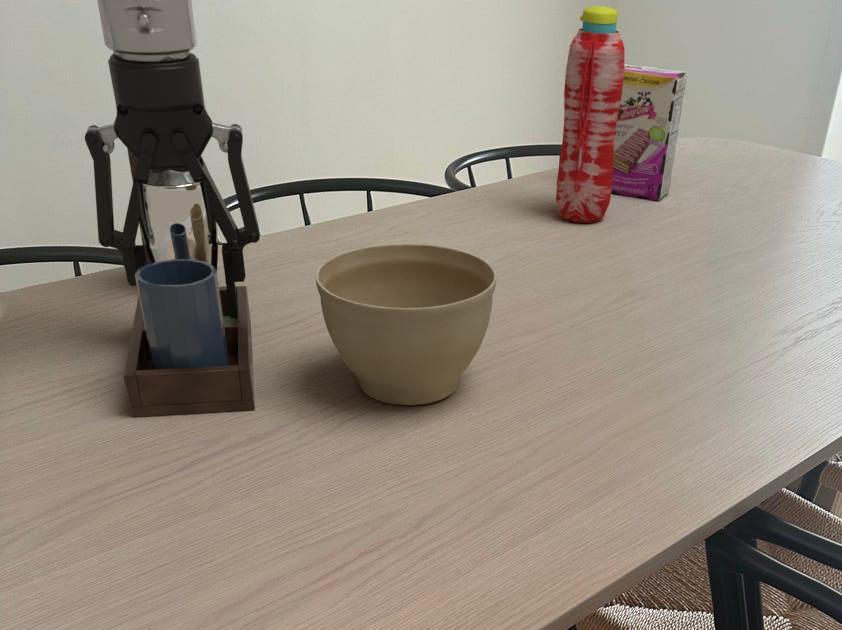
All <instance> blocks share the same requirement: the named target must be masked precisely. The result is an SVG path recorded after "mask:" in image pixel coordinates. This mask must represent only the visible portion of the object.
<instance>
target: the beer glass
mask: <svg viewBox="0 0 842 630" xmlns="http://www.w3.org/2000/svg"><path fill="white" fill-rule="evenodd" d="M136 182H137V188H138V199H139V209H140V225H141V230H142V235H143V239H144V243H145V246H146V250H147V253H148V256H149V259H150V262H151V263H154V262H158V261H163V260H172V259H192V260H198V261H203V262H206V263H208V264H211V265H213V266H214V268H215V269H216V271H217V275H218V273H219V230H218V224H217V222H216V220H215V218H214V217H213V215H212V210H211V206H210V201H209V197H208V192H207V188H206V183H205V180H200V181H198V182H194V180H193V179H192V177H191V175H190V173H189V171H188V172H177V171H173V170H167V171H164V172H152V170H151V171H150V175H149V180H148V184H146V183H143V182H141V181H136ZM140 225H139V226H140ZM223 321H224V319H223ZM224 323H225V322H224Z"/></svg>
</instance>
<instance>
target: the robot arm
mask: <svg viewBox="0 0 842 630" xmlns="http://www.w3.org/2000/svg"><path fill="white" fill-rule="evenodd" d="M96 1H97V7H98V12H99V18H100V24H101V29H102V35H103V41H104V46H105V47H106V48H108V50H110V51H112V54H110V56H109V58H108V60H107V63H108V68H109V74H110V80H111V87H112V91H113V97H114V101H115V109H116V116H115V118H114V122H113V123H111V124H107V125H103V126H98V125H94V124H92V125H89V127H88V128H87V129H86V132H85V135H84V141H85V144H86V147H87V149H88V151H89V154H90V156H91V159H92V162H93V176H94V192H95V208H96V209H95V210H96V223H97V237H98V239H97V240H98V243H99V245H101V246H102V247H103V248H109V247H110V248H113V249H116V250H117V251H119V252H120V253H121V256H122V261H123V265H124V271H125V275H126V281H127V283H128V285H129V286H130V287H135V286H136V287H137V284H136V278H135V273H136V272H137V270H138V269H139V268H141V267H143V266H145V265H147V264H148V263H147V258H146V252H145V246H144V245H143V244H136V239H137V235H138V230H139V227H140V225H139V221H140V209H139V199H138V188H137V182H136V181H141V182H143V183H146V184H148V180H149V175H150V171H151V170H152V172H164V171H167V170H173V171H177V172H188V171H189V173H190V175H191V177H192V179H193V180H194V182H198V181H200V180H205V183H206V188H207V192H208V197H209V201H210V206H211V210H212V215H213V217H214V218H215V220H216V222H217V227H218V228H219V230H220V232H221V233H222V235H223V237H224V239H225V241H226V242H221V257H222V264H223V272H224V281H225V287H226V288H227V296H228V303H229V311H230V319H233V318H237V296H236V288H235V286H236V283H245V279H246V265H245V259H244V248H245V247H246V246H247V245H250V244H256V243H258V242H259V241H260V238H261V236H260V234H261V233H260V226H259V221H258V217H257V213H256V210H255V209H256V208H255V206H254V202H253V197H252V194H251V193H252V192H251V188H250V184H249V180H248V175H247V173H246V168H245V164H244V160H243V155H242V151H243V142H244V136H243V134H244V133H243V129H242V127H241V125H239V124H237V123H232V124H231V125H230V126H229V125H225V124H221V123H217V122H213V120H212V118H211V117H210V116H209V113H208V111H207V110H206V105H205V104H206V103H205V97H204V89H203V83H202V74H201V66H200V60H199V58H198V57H197V55H196V54H194V53H193V52H192V50H194V49H195V48H196V46H198V43H197V33H196V26H195V19H194V11H193V3H192V2H193V1H192V0H96ZM211 138H214V139H215V140H216V141H217V143H218V146H219V150H220V151H222V152H223V153H226V154H227V162H228V167H229V172H230V175H231V179H232V183H233V187H234V191H235V196H236V200H237V203H238V208H239V211H240V214H241V220H242V224H243V226H242V227H240V228H238V226H237V224H236V222H235V220H234V218H233V216H232V214H231V212H230V210H229V208H228V206H227V205H226V202H225V200H224V198H223V197H222V195H221V193H220V191H219V189H218V187H217V185H216V183H215V181H214V179H213V177H212V175H211V173H210V171H209V169H208V166H207V164H206V162H205V160H204V158H203V156H202V155H203V153H204V151H205V149H206V148H207V146H208V144H209V142H210V140H211ZM116 139H119V140H120V141H121V143H122V144H123V145H124V147H126V148H128V149H129V151H130V152H131V153H132V154H133V155H134V156H135V157H136V158H137V160H138V161H137V166H136V171H135V176H134V181H133V180H132V185H131V189H130V190H131V191H130V196H129V199H128V205H127V206H128V207H127V209H126V214H125V219H124V225H123V229H122V231H120V230H117V229H115V220H114V201H113V183H112V168H111V167H112V164H111V163H112V162H111V154H112V153H113V152H114V149H115V140H116Z"/></svg>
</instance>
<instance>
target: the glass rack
mask: <svg viewBox="0 0 842 630" xmlns="http://www.w3.org/2000/svg"><path fill="white" fill-rule="evenodd" d="M235 288H236V296H237V318H233V319H230V311H229V303H228V296H227V288H226V286H219V292H220V299H221V307H222V314H223V319H224V322H225V323H224V328H225V336H226V343H227V350H228V358H229V365H230V366H215V367H195V368H176V369H156V370H153V368H152V362H151V357H150V352H149V347H148V341H147V336H146V331H145V326H144V320H143V315H142V310H141V305H140V299H139V294H138V295H137V301H136V307H135V311H134V317H133V323H132V328H131V333H130V334H131V335H130V340H129V345H128V350H127V356H126V361H125V366H124V371H123V372H124V373H123V379H124V384H125V388H126V393H127V397H128V403H129V407H130V411H131V412H130V413H131V416H132V418H139V417H141V418H142V417H158V416H174V415H191V414H209V413H224V412H227V413H228V412H244V411H255V410H256V407H255V405H256V404H255V403H256V402H255V383H254V362H253V361H254V360H253V359H254V358H253V342H252V341H253V340H252V322H251V313H250V305H249V304H250V303H249V297H248V287H247V285H237V286H236V285H235Z"/></svg>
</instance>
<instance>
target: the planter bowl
mask: <svg viewBox="0 0 842 630" xmlns="http://www.w3.org/2000/svg"><path fill="white" fill-rule="evenodd" d="M314 277H315V285H316V289H317V291H318V294H319V297H320V305H321V311H322V315H323V320H324V322H325V326H326V329H327V332H328V335H329V337H330V339H331V341H332V343H333V345H334V347H335V349H336V350H337V352H338V354H339V355H340V357H341V358H342V360H343V361H344V363H345V364H346V366H348V368H349V369H350V370H351V371H352V373H354V374H355V375H356V376H357V378H358V382H359V383H358V384H359V386H360V388H361V391H363V392H364V393H365V394H366V395H367V396H368V397H370V398H372V399H375V400H376V401H379V402H382V403H386V404H390V405H397V406H419V405H420V406H421V405H428V404H431V403H435V402H439V401H442V400H443V399H445V398H448V397H449V396H451V395H452V394H453V393H454V392H455V391H456V390H457V389H458V388H459V383H460V379H461V376H462V375H463V373H464V372H465V371H466V370H467V368H468V367H469V366H470V364H471V363H472V362H473V360H474V359H475V357H476V355H477V353H478V352H479V350H480V347H481V345H482V343H483V341H484V338H485V336H486V334H487V331H488V327H489V325H490V324H489V323H490V319H491V316H492V315H491V314H492V313H491V312H492V308H493V298H494V297H493V296H494V293H495V290H496V286H497V273H496V269H494V267H493V265H491V264H490V263H489V262H488V261H487V260H485V259H484V258H482V257H480V256H478V255H477V254H474V253H472V252H469V251H466V250H462V249H459V248H455V247H450V246H444V245H441V244H440V245H439V244H431V243H417V242H416V243H413V242H397V243H386V244H385V243H384V244H374V245H367V246H361V247H355V248H352V249H349V250H345V251H342V252H340V253H337V254H335V255H332V256H331V257H329V258H327V259H326V260H325V261H323V262H322V263H321V264H320V265H319V266H318V267H317V269H316V272H315V275H314Z"/></svg>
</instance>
